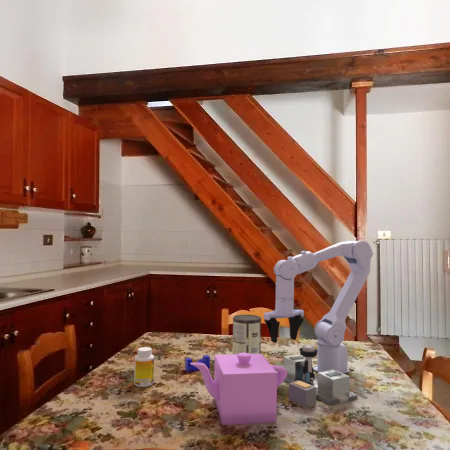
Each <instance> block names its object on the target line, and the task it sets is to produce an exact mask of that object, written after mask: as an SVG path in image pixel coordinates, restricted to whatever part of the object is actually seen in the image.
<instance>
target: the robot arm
mask: <svg viewBox="0 0 450 450" xmlns="http://www.w3.org/2000/svg"><path fill="white" fill-rule="evenodd" d="M373 255H374V253H373V249H372V247H371V245H370V244H369V242H367V241H365V240H351V239H350V240H348V239H347V240H345V241H340V242H337V243H335V244H333V245H331V246H327V247H325V248H323V249H321V250H318V251H316V252H311V251H308V250H307V251H306V250H302V251H300V254H298V255H293V256H291V255H290V256H287V260H286V259H281V260H278V261H277V262H276V263H275V265H274V267H273V273H274V275H275V276H276V277H275V278H276V279H275V309H274V310H273V311H268V312H267V311H266V312H264V313H263V320H264V322H265V325H266V327H267V329H268V332H269V337H270V341H271V343H275V344H276V343H278V337H279V336H278V332H279V327H280V323H281V322H280V321H278V320H279V319H286V318H287V319H288V324H289V339H290V340H294V341H296V340H297V336H298V333H299V330H300V328H301V326H302V324H303V322H304V320H305V319H304V318H305V312H304V310H303V309H294V305H295V303H294V301H295V299H294V296H295V277H297V275H300V274H302V273H305V272H308V271H310V270H313V269H315V268H316V267H317V264H318V263H321V262H323V261H327V260H330V259H333V258H335V257H338V256H342V257H343V258H344V259H345V261H346V262H347V263H348V265H349V267H350V273H349V274H348V277H347V278H346V281H345V283H344V284H343V286H342V288H341V290H340V291H339V293H338V295H337V297H336V299H335V301H334V303H333V305H332V306H331V308H330V310H329V311H328V312H327V313H326V314H324V315H323V316H322V318H321V319H320V320H318V321H317V323H316V324H315V326H314V334H315V337H317V344H316V345H317V348H316V349H317V350H318V352H317V356H316V358H317V359H316V362H317V363H316V366H312V367H313V368H314V371H315V372H317V373H319V372H324V371H329V370H336V371H339V372H341V373H343V374H347V373H350V370H349V369H348V367H349V365H348V363H349V361H348V358H349V357H348V356H349V351H348V348H347V346H346V345H345V343H343V341H344V340H345V333H346V332H345V331H346V330H347V324H346V319H347V317H348V315H349V313H350V311H351V309H352V308H353V305H354V304H355V303H356V300H357V298H358V296H359V294H360V292H361V291H362V288H363V287H364V285H365V283H366V281H367V279H368V277H369V276H370V273H371V262H372V261H371V260H372V257H373ZM277 319H278V320H277Z"/></svg>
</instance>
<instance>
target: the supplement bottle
mask: <svg viewBox="0 0 450 450" xmlns="http://www.w3.org/2000/svg"><path fill="white" fill-rule="evenodd" d="M152 353H153V352H152V347H150V346H149V347H148V346H144V347H143V346H142V347H139V348H138V349H137V355H135V357H134V367H133V369H134V374H133V376H134V377H133V378H134V379H133V380H134V381H133V383H134V385H135V386H136V387H138V388H148V387H151V386H152V385H153V384H154V377H155V376H154V375H155V371H154V370H155V356H154V354H152Z"/></svg>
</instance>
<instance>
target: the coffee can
mask: <svg viewBox="0 0 450 450" xmlns="http://www.w3.org/2000/svg"><path fill="white" fill-rule="evenodd" d="M232 321H233V323H232V355H233V354H239V353H249V354H262V353H261V347H262V346H261V345H262V344H261V343H262V341H261V339H262V338H261V337H262V335H261V334H262V317H261V316H260V315H255V314H236V315H234V316H232Z"/></svg>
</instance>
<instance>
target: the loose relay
mask: <svg viewBox="0 0 450 450" xmlns="http://www.w3.org/2000/svg"><path fill="white" fill-rule="evenodd" d="M288 401H290V402H293V403H295V404H297V405H300V406H302V407H303V408H306V409H307V408H309V407H312V406H314V405H317V398H316V387H315V386H312V385H310V384H307V383H305V382H302V381H300V380H298V381H295V382H292V383H288Z"/></svg>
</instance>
